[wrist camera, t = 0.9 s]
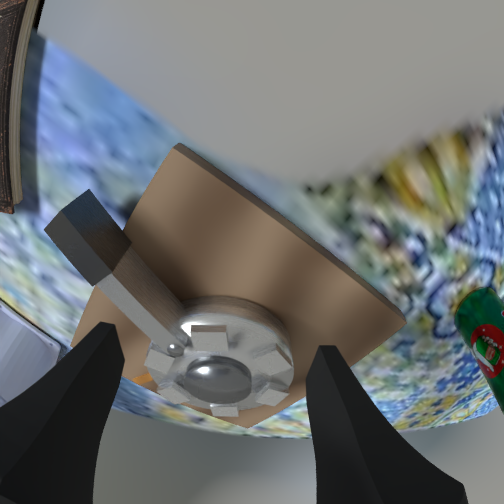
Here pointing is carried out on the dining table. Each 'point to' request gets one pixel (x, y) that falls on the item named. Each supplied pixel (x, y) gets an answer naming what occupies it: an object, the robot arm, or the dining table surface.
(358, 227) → the dining table surface
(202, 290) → the walnut board
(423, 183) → the dining table surface
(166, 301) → the silver mechanical part
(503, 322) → the soda can
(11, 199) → the hardcover book
